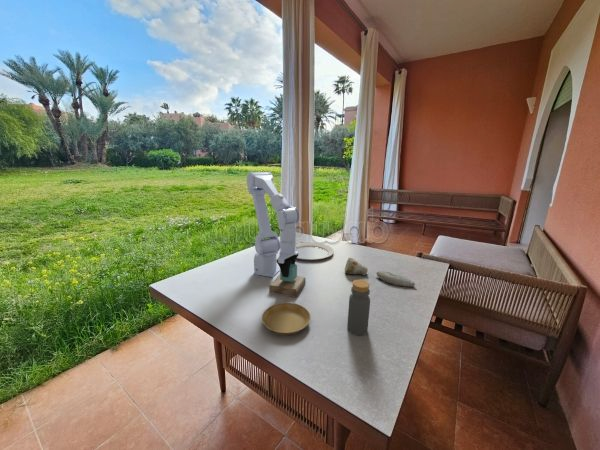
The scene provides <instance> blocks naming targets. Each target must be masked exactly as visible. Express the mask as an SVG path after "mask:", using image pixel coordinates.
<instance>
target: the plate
mask: <svg viewBox="0 0 600 450" xmlns="http://www.w3.org/2000/svg"><path fill="white" fill-rule="evenodd" d="M296 246H297V247H296V250H298V249H300V248H315V247H318V248H317V249H320V248H322V249H321V250H323V249H325V250H326V251H327V252H328V253H327V252H326V251H325V250H324V251H325V252H326V253H327V255H326V256H323V257H319V258H302V257H298V256H297V258H296V259H299V260H304V261H319V260H324V259H325V258H329V257H331V256H332V255H334V248H332V246H329V245H327V244H324V243H320V242H298V243H296Z"/></svg>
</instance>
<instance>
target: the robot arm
mask: <svg viewBox="0 0 600 450" xmlns="http://www.w3.org/2000/svg"><path fill="white" fill-rule="evenodd" d="M246 187H247V190H248V194H250V195H252V201H253V205H254V209H255V215H256V219H257V225H258V229H259V230H258V231H259V233H258V234H257V235H256V236H255V238H254V249H255V252H256V253H255V254H254V257H253V275H258V276H263V277H269V278H274V277H275V276H276V275H277V273H278V272H280V269H281V273H282V276H283V277H288V276H289V269H290V265H291V264H296V261H297V259H298V258H297V257H298V256H299V251H297V249H296V247H297V246H296V244H297V243H296V241H297V239H296V237H297V236H296V232H297V231H296V230H297V229H296V226H297V224H296V223H298V222H299V220H300V214H299V210H298V209H297V207H296V206H293V205H290V204H289V202H288V199H286V198H285V196H284V194H283V193H279V192H278V189H277V188H276V186H275V185H274V175H273V174H272V172H271V171H265V172H263V171H262V172H261V171H259V172H256V171H253V172H252V171H249V172H248V173H247V174H246ZM265 195H267V196H268V197H269V198H270V201H269V203H270V205H271V206H272V208H273V209H274V211H275V213H276V220H277V223H278V224H277V225H278V229H279V236H280V237H279V236H278V234H277V233H276V232H275V231H273V230H272V227H271V222H270V218H269V212H268V208H267V203H266V199H265V198H266V197H265ZM279 238H280V239H279ZM278 253H279V255H278V257H277V254H278ZM277 266H278V267H279V268H277Z"/></svg>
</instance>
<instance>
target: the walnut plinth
mask: <svg viewBox="0 0 600 450" xmlns="http://www.w3.org/2000/svg"><path fill="white" fill-rule="evenodd" d="M306 280H307V279H306V277H305V276H300V275H297V277H296V278H295V279H294V281H293V282H290V281H284V280H280V274H279V275H278V276H276V277H275V279H274V280H273V281H272V282H271V283H270V284H269V286H268V292H269V293H270V294H276V295H280V296H287V297H293V298H298V296H299V295H300V293H301V291H302V290H303V288H304V287H305V285H306Z"/></svg>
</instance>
